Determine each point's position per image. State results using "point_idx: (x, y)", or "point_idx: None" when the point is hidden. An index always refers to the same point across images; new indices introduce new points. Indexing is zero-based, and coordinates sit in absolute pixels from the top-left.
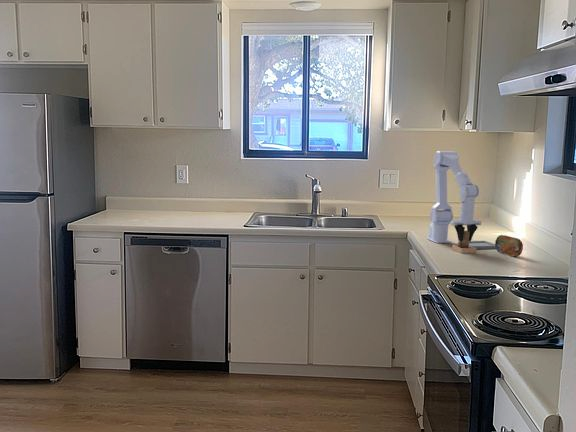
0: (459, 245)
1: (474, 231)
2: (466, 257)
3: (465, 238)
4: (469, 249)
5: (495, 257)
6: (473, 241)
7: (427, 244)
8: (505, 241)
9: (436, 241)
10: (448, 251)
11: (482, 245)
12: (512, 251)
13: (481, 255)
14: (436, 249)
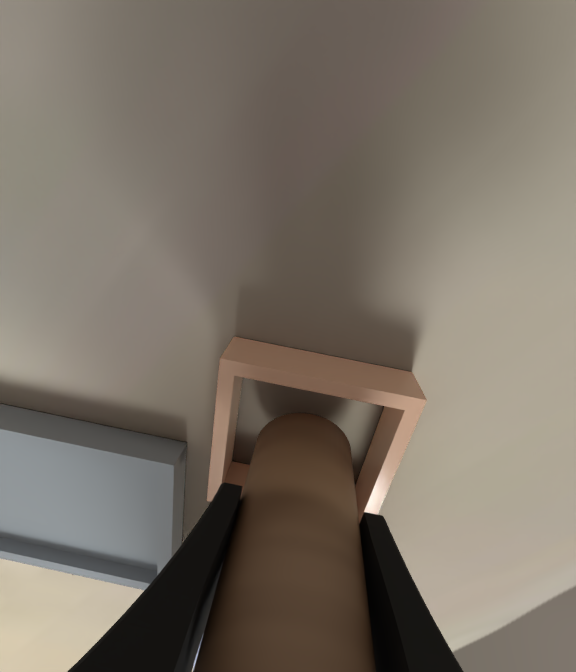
0: None
1: (107, 655)
2: (569, 174)
3: (338, 533)
4: (313, 371)
5: (152, 31)
6: (44, 559)
7: None
8: None
9: None
10: (470, 459)
11: (22, 474)
12: None
13: (266, 207)
14: (501, 536)
